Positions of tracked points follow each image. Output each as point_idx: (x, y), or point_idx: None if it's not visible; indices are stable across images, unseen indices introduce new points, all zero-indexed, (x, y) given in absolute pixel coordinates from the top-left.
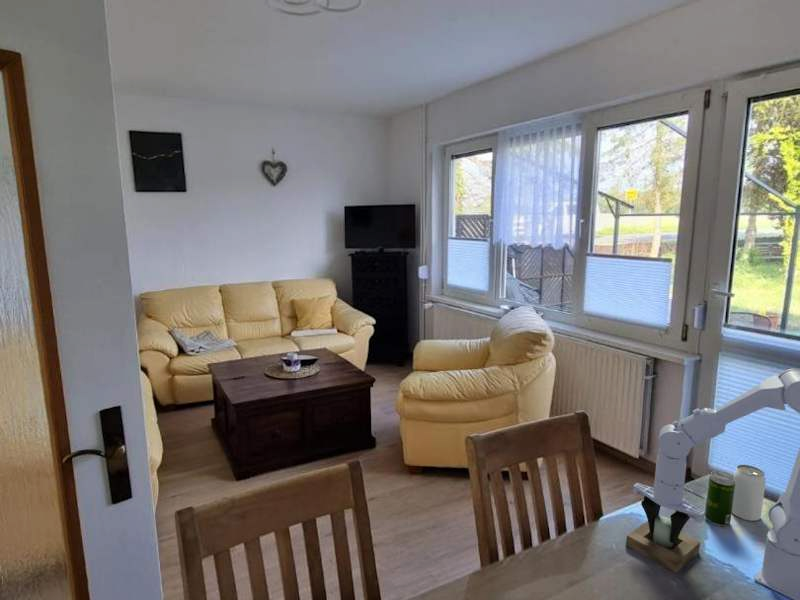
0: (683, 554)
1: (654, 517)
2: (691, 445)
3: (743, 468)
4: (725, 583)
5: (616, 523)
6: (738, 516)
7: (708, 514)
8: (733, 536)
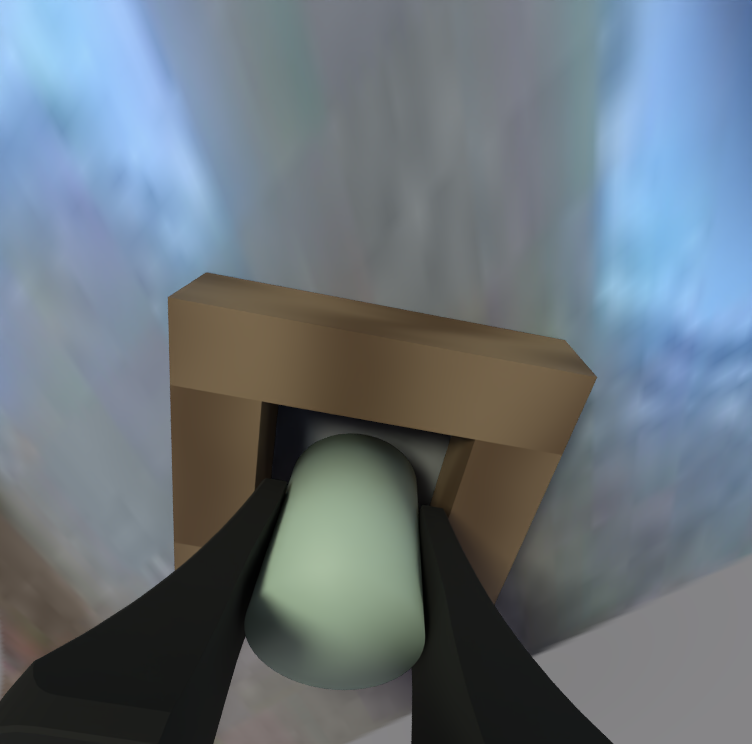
0: (498, 574)
1: (237, 628)
2: None
3: None
4: (698, 523)
5: (35, 377)
6: None
7: None
8: None
